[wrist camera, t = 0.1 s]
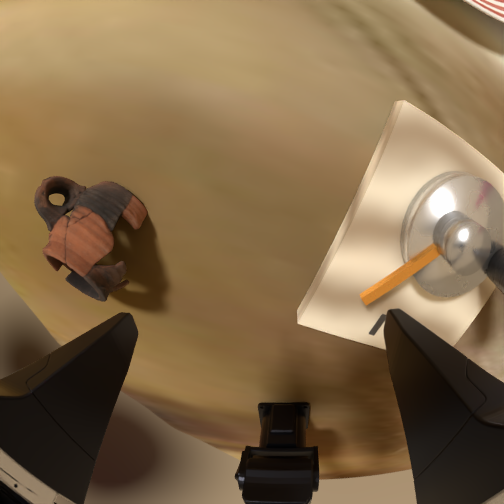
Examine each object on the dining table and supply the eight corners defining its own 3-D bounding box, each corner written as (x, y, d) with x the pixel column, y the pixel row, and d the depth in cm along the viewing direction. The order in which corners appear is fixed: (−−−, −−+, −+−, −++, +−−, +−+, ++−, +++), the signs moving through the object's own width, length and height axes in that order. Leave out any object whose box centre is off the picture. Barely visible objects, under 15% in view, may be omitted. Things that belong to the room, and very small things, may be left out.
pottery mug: (177, 230, 25) (129, 309, 21) (132, 247, 31) (94, 307, 27) (83, 132, 19) (12, 203, 14) (59, 174, 25) (9, 232, 20)
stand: (433, 351, 28) (439, 364, 26) (297, 309, 27) (297, 324, 25) (525, 200, 19) (537, 207, 17) (394, 101, 18) (405, 100, 16)
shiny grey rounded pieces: (456, 323, 23) (501, 405, 13) (352, 284, 22) (384, 394, 13) (519, 214, 18) (596, 271, 8) (423, 140, 17) (527, 170, 7)
